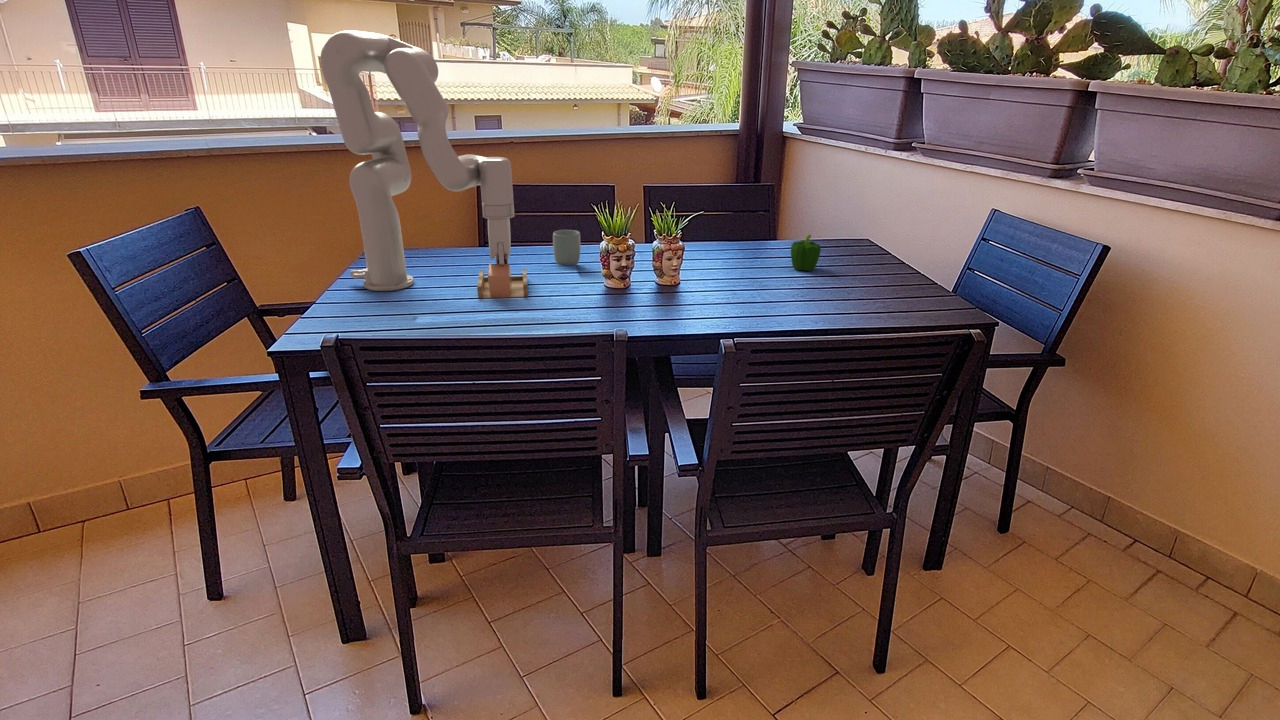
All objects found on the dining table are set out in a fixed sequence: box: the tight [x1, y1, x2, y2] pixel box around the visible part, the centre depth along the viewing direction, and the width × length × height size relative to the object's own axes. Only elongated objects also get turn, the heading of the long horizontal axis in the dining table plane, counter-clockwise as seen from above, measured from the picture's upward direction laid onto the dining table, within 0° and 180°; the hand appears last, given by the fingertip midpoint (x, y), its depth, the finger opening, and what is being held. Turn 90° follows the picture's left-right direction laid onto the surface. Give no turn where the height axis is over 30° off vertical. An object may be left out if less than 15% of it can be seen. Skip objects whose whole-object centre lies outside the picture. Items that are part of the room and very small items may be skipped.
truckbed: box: [476, 268, 529, 299], centre depth 167 cm, size 15×12×4 cm
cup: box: [552, 229, 581, 267], centre depth 190 cm, size 8×8×10 cm
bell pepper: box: [790, 233, 821, 272], centre depth 192 cm, size 8×8×10 cm
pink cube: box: [487, 263, 512, 296], centre depth 161 cm, size 5×5×6 cm
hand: (503, 282), depth 166 cm, fingers closed
